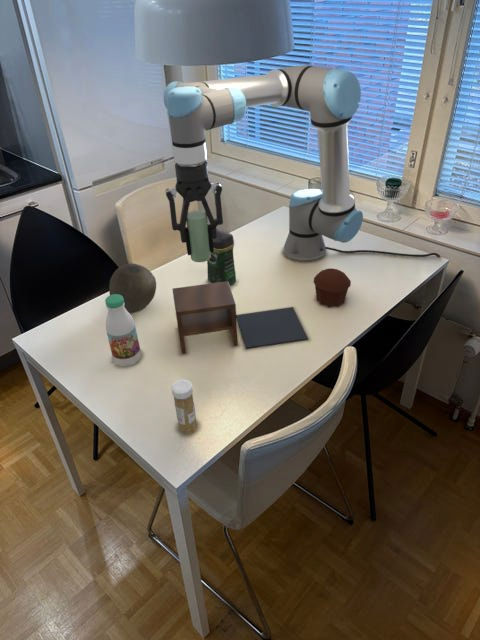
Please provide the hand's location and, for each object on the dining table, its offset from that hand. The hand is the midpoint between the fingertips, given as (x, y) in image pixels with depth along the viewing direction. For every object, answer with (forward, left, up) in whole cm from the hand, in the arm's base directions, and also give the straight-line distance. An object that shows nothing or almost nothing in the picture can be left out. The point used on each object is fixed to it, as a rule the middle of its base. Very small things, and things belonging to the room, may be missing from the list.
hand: (200, 251), depth 127 cm
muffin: (-41, -10, -28) cm, 51 cm away
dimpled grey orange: (+20, -20, -28) cm, 40 cm away
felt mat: (-19, 0, -28) cm, 34 cm away
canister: (0, 0, -2) cm, 2 cm away
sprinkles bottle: (+9, +33, -28) cm, 45 cm away
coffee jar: (-9, -29, -28) cm, 41 cm away
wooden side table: (0, 0, -28) cm, 28 cm away
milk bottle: (+23, +4, -28) cm, 37 cm away
